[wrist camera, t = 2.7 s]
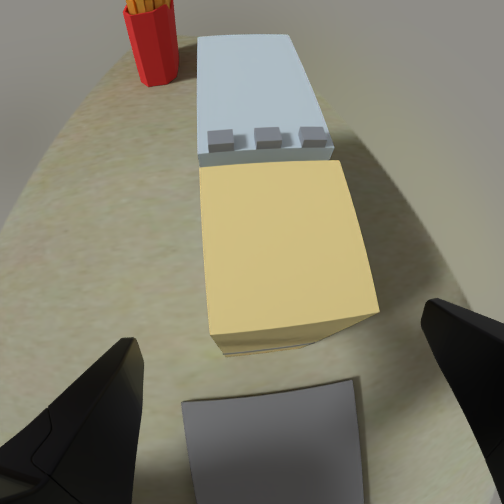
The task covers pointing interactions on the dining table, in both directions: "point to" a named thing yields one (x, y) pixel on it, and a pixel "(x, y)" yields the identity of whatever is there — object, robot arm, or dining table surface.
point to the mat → (276, 447)
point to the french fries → (153, 39)
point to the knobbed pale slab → (256, 103)
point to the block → (281, 255)
